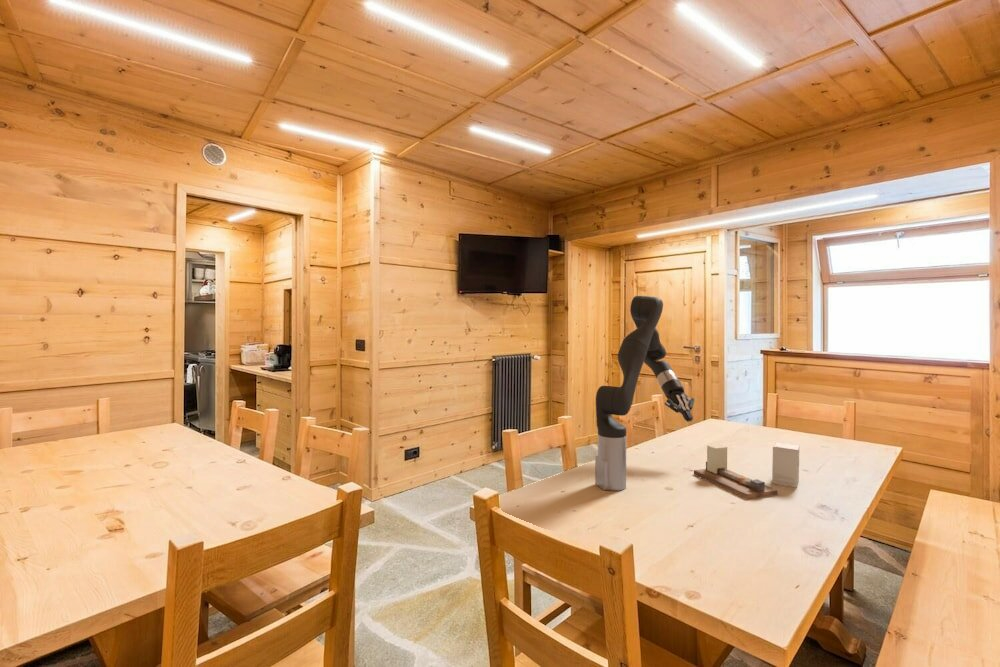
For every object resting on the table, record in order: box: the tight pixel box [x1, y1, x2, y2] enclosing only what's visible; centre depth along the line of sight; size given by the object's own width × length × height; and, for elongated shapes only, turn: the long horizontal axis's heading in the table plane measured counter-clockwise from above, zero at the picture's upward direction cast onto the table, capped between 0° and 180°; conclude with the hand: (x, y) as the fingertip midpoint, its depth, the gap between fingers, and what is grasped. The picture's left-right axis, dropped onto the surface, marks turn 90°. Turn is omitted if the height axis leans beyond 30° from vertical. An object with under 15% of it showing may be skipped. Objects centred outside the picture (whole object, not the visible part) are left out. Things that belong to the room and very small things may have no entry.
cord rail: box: [693, 461, 779, 500], centre depth 156 cm, size 12×24×4 cm, turn 16°
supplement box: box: [771, 442, 800, 488], centre depth 157 cm, size 7×7×13 cm
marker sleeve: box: [706, 443, 728, 474], centre depth 163 cm, size 5×4×9 cm
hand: (690, 420), depth 176 cm, fingers closed
